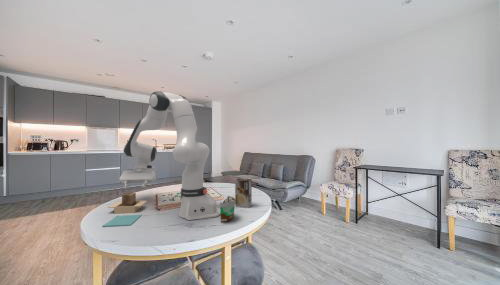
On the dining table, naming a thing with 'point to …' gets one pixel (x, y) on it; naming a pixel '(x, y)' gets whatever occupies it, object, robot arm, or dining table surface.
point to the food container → (227, 209)
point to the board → (122, 220)
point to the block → (129, 199)
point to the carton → (127, 207)
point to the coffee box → (243, 192)
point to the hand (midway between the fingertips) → (134, 187)
